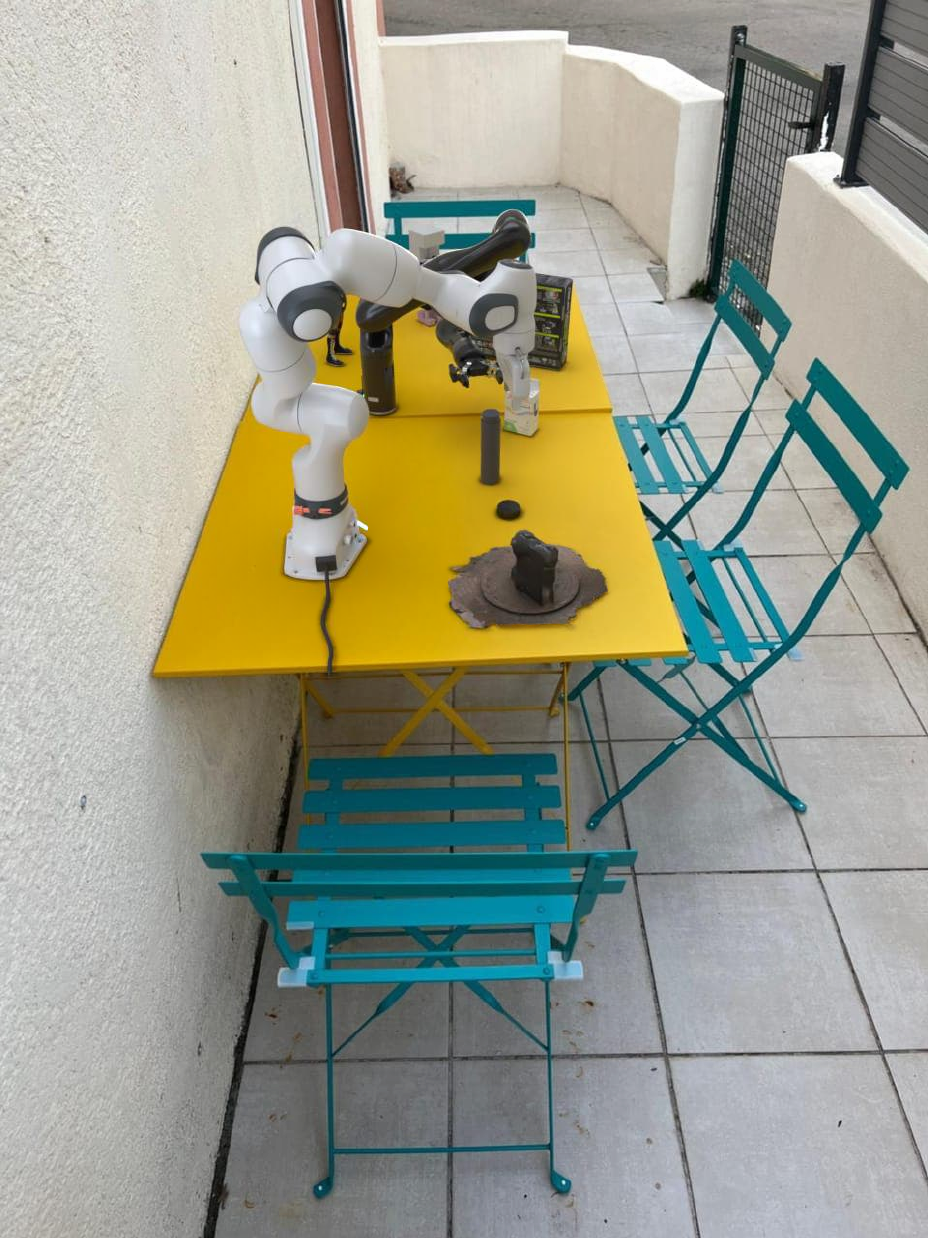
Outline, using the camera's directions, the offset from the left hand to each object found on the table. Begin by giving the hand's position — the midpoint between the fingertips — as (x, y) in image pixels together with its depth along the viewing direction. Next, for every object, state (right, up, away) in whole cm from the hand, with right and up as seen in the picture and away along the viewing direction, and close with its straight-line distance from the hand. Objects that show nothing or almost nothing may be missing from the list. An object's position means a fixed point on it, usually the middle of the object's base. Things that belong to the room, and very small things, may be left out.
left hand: (511, 399), depth 196 cm
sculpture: (+3, -42, -3) cm, 42 cm away
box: (+5, +35, +87) cm, 94 cm away
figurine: (-51, +35, +88) cm, 108 cm away
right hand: (-6, +10, +25) cm, 28 cm away
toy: (-22, +55, +112) cm, 126 cm away
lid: (0, -22, +18) cm, 28 cm away
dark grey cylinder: (-4, -13, +31) cm, 34 cm away
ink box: (+5, +4, +51) cm, 52 cm away
